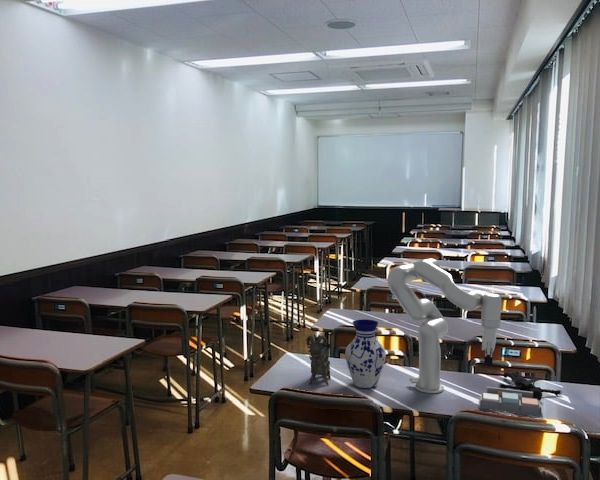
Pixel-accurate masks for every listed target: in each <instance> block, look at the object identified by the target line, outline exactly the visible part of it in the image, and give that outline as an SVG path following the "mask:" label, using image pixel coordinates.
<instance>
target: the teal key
mask: <svg viewBox="0 0 600 480" xmlns="http://www.w3.org/2000/svg"><path fill="white" fill-rule="evenodd" d="M502 402H503V403H511V404H518V394H514V393H505V392H502Z"/></svg>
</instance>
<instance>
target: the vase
mask: <svg viewBox="0 0 600 480" xmlns="http://www.w3.org/2000/svg"><path fill="white" fill-rule="evenodd" d="M352 324H353V327H354V329H355V337H354V338H353V340H351V342H350V343H349V344H348V345H347V347H346V349H345V351H344V355H345V360H346V364H347V368H348V371H349V373H350V376H351V380H352V382H353V386H354V388H355V387H356V388H358V389H361V390H372V389H375V388H376V387H377V386H378V384H379V380H380V377H381V375H382V371H383V369H384V365H385V363H386V358H387V352H386V349H385V347H384V346H383V345H382V344H381V342H380V341H379V340H378V339H377V337H376V335H375V334H376V330H377V329H376V328H378V325H379V322H378V321H377V320H373V319H355V320H353V321H352Z"/></svg>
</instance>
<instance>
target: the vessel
mask: <svg viewBox="0 0 600 480" xmlns="http://www.w3.org/2000/svg"><path fill="white" fill-rule="evenodd" d="M305 340H306V346H307V348H308V349H309V350H308V353H310V355H308V357H309V360H310V361H311V362H310V373H311V376H310V379H309V382H308V385H311V384H312V383H313V382H314V380H315V378H316V377H319V376H320V375H322V376H321V377H322V380H323V381H324V383H325V385H327V386H328V385H329V381H328V380H329V379H331V378H332V377H331V371H330V370H331V366H330V365H331V362H330V360H329V348H331V346H332V344H331V343H328V339H327V337H326V336H324V335H321V334H318V336H316V334H315V333H314V334H313V335H309V336H307V338H305ZM328 378H329V379H328ZM329 386H330V385H329Z"/></svg>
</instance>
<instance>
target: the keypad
mask: <svg viewBox="0 0 600 480" xmlns="http://www.w3.org/2000/svg"><path fill="white" fill-rule="evenodd" d="M486 389H487V390H486V391H487V392H486V393H490V394H498V396H499V402H495V401H487V400H483V393H480V395H479V402H478V403H479V404H478V408H479V409H480V410H481V409H482V410H490V409H491V411H496V410H500V411H499V412H504V411H506V412H505V413H512V412H515V413H514V414H519V413H520V415H529V416H536V417H537V416H538V417H544V416H543V410H542V404H541V400H538V407H536V406H528V405H521V397H524V398H532V399H533V392H530V391H521V390H518V389H511V388H506V389H504V388H498V387H496V386H495V387H494V386H493V387H492V386H486ZM502 392H505V393H514V394H518V404H511V403H503V402H502Z"/></svg>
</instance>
